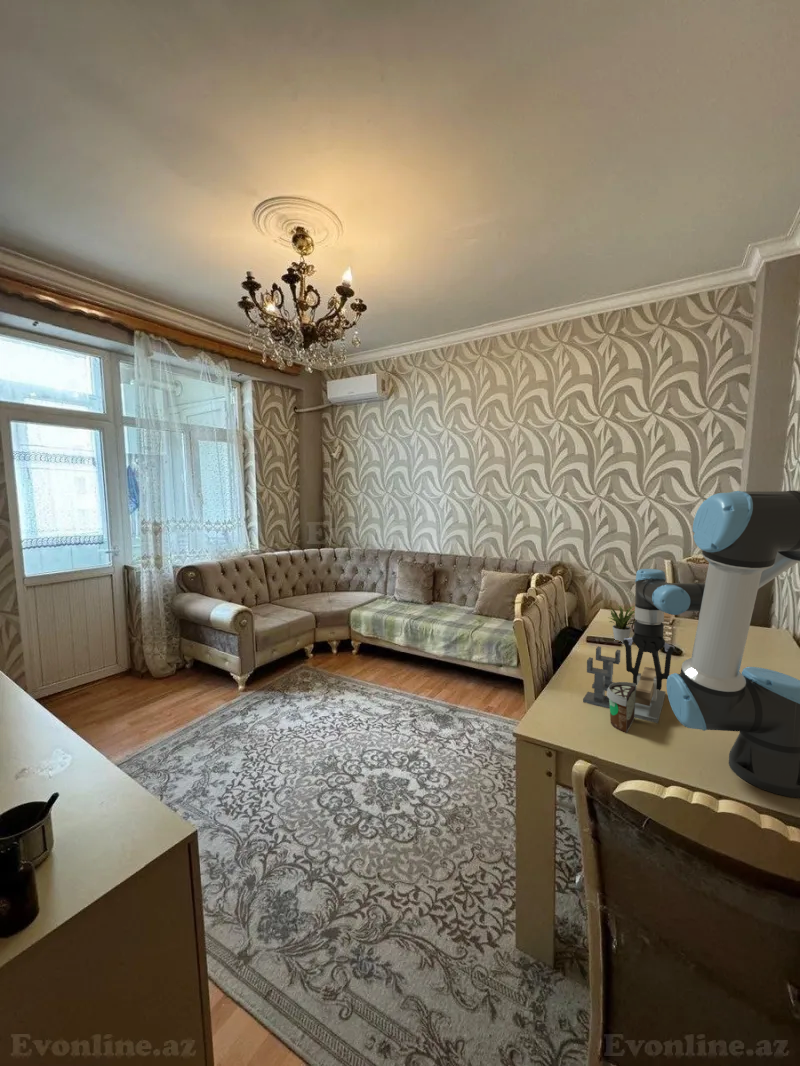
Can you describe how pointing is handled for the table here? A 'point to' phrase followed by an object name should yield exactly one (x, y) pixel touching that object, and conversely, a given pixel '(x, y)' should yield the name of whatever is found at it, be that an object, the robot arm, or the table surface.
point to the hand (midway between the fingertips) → (646, 697)
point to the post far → (605, 664)
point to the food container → (622, 704)
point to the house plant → (621, 624)
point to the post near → (598, 685)
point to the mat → (650, 708)
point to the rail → (645, 687)
